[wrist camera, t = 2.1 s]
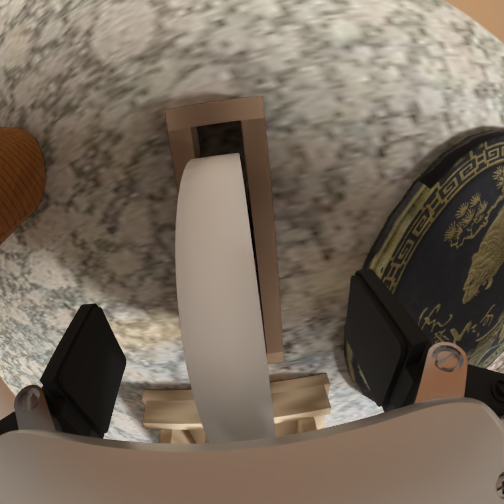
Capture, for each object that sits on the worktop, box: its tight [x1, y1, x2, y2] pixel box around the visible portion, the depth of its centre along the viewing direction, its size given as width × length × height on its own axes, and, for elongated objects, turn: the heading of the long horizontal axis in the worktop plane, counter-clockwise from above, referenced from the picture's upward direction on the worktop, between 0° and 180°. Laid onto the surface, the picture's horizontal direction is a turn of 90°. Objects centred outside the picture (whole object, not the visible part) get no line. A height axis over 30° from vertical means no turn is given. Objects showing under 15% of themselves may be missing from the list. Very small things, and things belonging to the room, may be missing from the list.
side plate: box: [175, 153, 276, 443], centre depth 11 cm, size 2×12×12 cm, turn 6°
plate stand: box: [165, 96, 284, 364], centre depth 15 cm, size 4×15×2 cm, turn 6°
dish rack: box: [142, 373, 331, 444], centre depth 23 cm, size 16×16×5 cm
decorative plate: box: [344, 130, 504, 402], centre depth 20 cm, size 30×2×30 cm
